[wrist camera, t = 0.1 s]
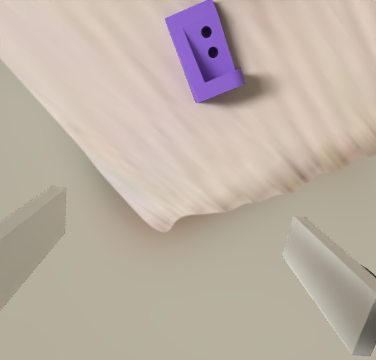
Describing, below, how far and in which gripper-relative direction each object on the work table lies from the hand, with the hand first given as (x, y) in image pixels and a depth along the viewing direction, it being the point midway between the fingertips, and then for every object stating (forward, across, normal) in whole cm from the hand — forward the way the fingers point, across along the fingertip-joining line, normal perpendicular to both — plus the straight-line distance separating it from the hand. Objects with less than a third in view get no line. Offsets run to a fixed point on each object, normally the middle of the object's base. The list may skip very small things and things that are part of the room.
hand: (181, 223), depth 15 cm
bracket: (+29, +2, +14) cm, 32 cm away
